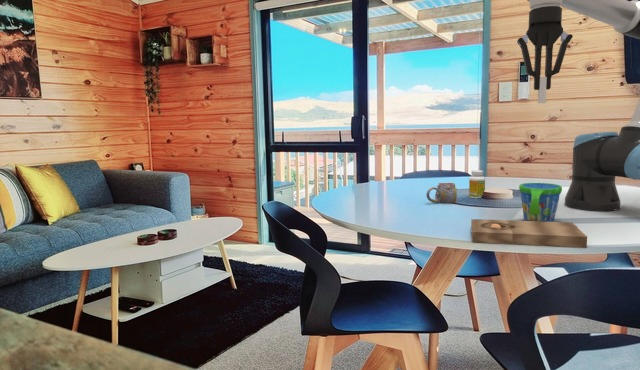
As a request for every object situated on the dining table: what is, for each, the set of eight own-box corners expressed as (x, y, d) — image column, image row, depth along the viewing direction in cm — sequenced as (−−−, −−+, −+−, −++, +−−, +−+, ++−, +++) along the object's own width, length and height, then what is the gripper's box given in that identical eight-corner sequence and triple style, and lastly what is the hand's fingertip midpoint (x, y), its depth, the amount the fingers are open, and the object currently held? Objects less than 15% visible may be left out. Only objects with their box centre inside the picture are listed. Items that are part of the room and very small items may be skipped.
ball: (490, 226, 116) (488, 237, 115) (489, 221, 114) (487, 231, 112) (503, 227, 114) (501, 238, 113) (502, 222, 112) (500, 233, 111)
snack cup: (552, 230, 118) (553, 190, 116) (509, 224, 124) (511, 187, 123) (566, 218, 129) (568, 183, 128) (527, 214, 136) (528, 180, 135)
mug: (448, 199, 164) (448, 181, 163) (461, 202, 157) (461, 183, 157) (420, 203, 159) (420, 184, 158) (432, 206, 153) (432, 186, 152)
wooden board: (572, 232, 115) (572, 222, 114) (586, 247, 102) (587, 236, 101) (471, 228, 122) (471, 218, 121) (472, 242, 108) (472, 231, 108)
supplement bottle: (478, 199, 163) (479, 172, 161) (465, 197, 167) (466, 170, 165) (487, 197, 166) (488, 170, 164) (474, 195, 170) (475, 169, 169)
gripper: (570, 9, 118) (566, 102, 121) (516, 13, 122) (513, 104, 125) (577, 2, 111) (572, 101, 114) (519, 7, 115) (516, 103, 118)
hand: (541, 102), depth 120 cm, fingers closed
